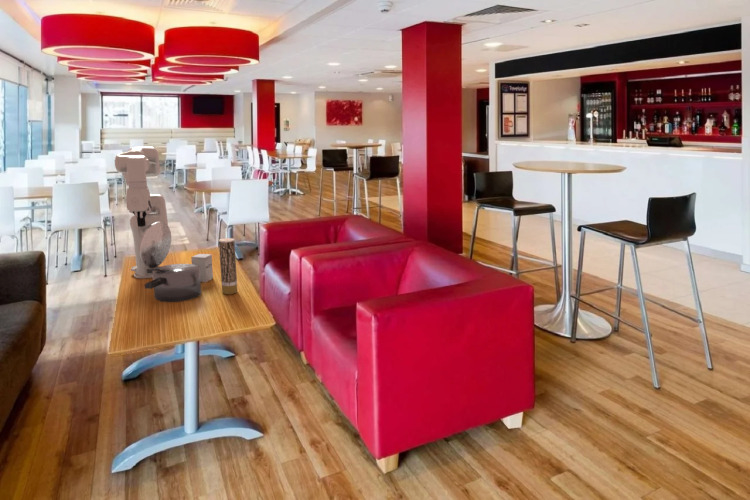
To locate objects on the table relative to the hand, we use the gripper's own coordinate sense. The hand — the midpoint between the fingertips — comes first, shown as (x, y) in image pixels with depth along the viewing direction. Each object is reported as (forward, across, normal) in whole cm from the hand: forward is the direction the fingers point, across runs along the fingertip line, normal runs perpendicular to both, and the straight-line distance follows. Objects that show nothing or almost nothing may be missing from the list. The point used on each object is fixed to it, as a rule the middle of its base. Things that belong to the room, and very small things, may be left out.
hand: (141, 226), depth 246 cm
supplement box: (+31, +14, +24) cm, 42 cm away
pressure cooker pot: (+31, +14, -5) cm, 35 cm away
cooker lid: (+8, +7, 0) cm, 11 cm away
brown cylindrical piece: (+31, +37, +9) cm, 49 cm away
